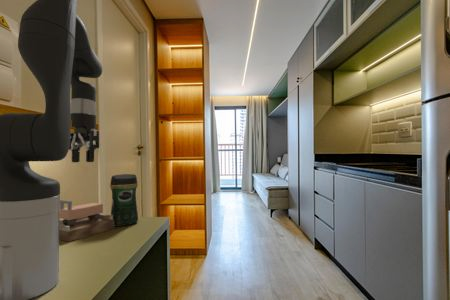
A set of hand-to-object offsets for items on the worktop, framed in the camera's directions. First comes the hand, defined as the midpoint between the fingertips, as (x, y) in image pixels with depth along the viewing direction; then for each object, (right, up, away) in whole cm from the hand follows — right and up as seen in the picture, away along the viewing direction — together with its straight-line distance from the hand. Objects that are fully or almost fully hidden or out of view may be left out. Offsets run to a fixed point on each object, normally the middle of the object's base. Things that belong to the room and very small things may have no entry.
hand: (82, 162), depth 76 cm
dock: (0, -23, +1) cm, 23 cm away
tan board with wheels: (-1, -21, +1) cm, 21 cm away
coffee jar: (+9, -24, +10) cm, 28 cm away
